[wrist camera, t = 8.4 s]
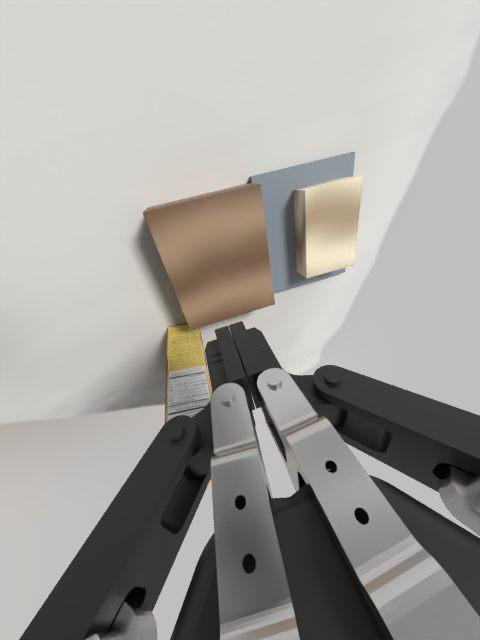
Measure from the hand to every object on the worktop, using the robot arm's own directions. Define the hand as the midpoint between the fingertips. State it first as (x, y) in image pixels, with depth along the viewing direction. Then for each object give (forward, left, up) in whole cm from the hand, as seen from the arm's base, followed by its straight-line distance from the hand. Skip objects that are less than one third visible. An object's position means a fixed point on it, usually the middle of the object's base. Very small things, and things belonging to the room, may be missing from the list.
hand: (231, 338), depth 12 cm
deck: (0, +1, -16) cm, 16 cm away
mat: (0, +12, -16) cm, 20 cm away
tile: (0, +14, -14) cm, 19 cm away
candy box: (+12, -6, -16) cm, 21 cm away
